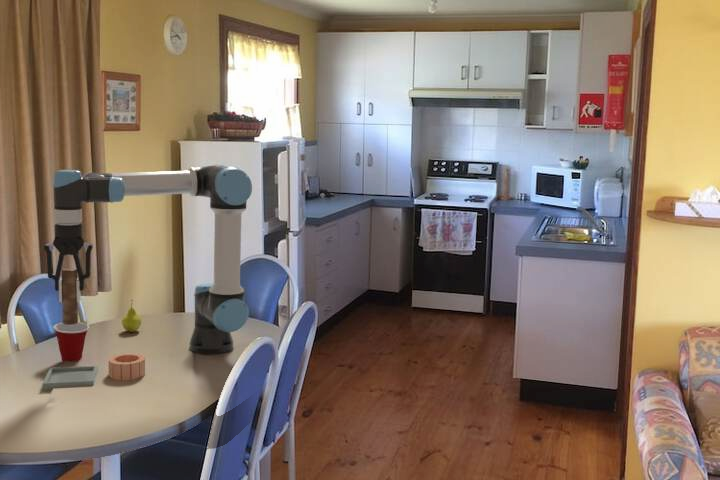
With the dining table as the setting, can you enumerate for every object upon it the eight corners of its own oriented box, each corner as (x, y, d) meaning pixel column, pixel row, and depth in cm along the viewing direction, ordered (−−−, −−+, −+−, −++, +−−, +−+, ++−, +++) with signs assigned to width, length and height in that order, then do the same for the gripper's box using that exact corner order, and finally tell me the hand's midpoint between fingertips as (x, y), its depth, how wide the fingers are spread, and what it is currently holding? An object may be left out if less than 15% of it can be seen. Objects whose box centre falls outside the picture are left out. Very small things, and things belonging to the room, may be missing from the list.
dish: (98, 372, 229) (98, 365, 228) (93, 388, 215) (93, 380, 215) (50, 374, 225) (50, 367, 225) (42, 390, 212) (42, 383, 212)
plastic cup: (78, 368, 232) (77, 331, 230) (47, 364, 234) (46, 328, 232) (96, 357, 242) (95, 322, 240) (66, 354, 244) (66, 319, 242)
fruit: (137, 334, 269) (137, 303, 268) (119, 333, 269) (119, 302, 268) (143, 329, 276) (143, 298, 274) (125, 328, 276) (125, 297, 274)
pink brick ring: (145, 370, 232) (145, 352, 231) (144, 382, 222) (144, 363, 221) (110, 372, 229) (110, 353, 228) (107, 384, 219) (107, 365, 218)
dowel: (78, 320, 220) (77, 268, 217) (77, 324, 216) (76, 271, 213) (63, 320, 219) (62, 268, 216) (61, 324, 215) (60, 271, 212)
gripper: (100, 221, 219) (101, 297, 222) (38, 221, 214) (40, 298, 218) (98, 225, 211) (99, 303, 215) (34, 224, 207) (36, 304, 211)
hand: (70, 301), depth 216 cm, fingers closed on dowel, 4 cm apart
